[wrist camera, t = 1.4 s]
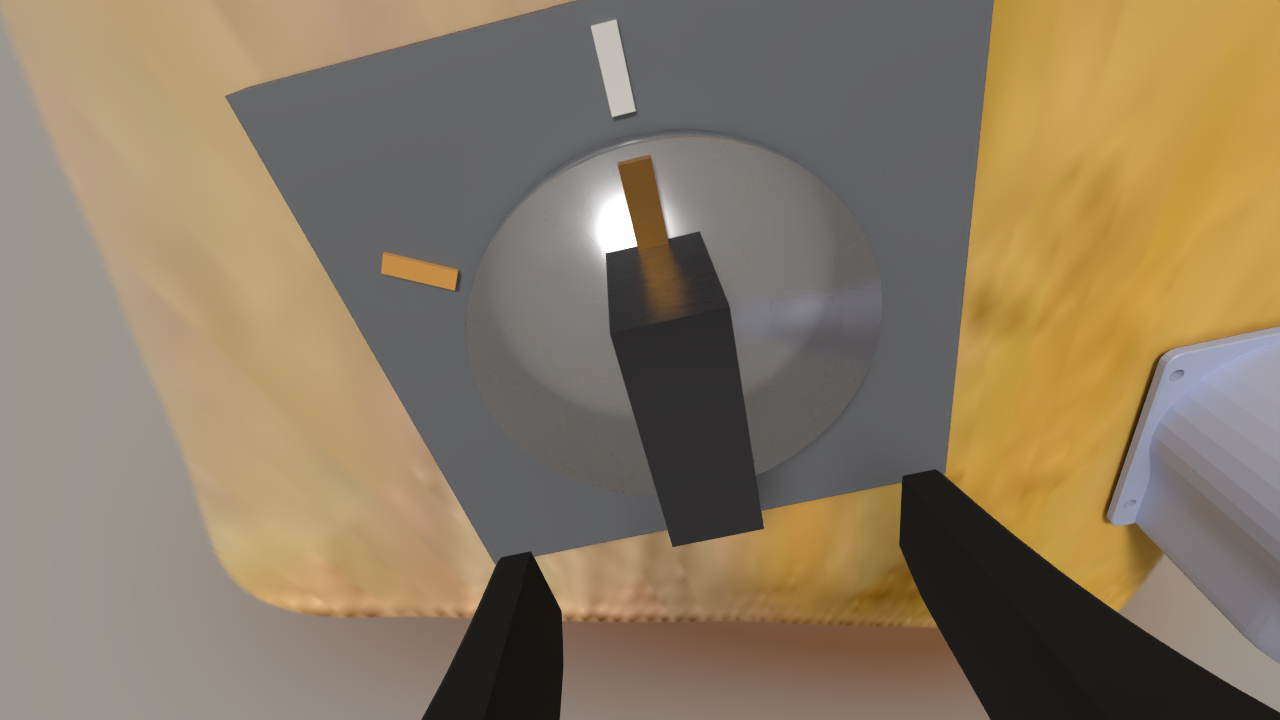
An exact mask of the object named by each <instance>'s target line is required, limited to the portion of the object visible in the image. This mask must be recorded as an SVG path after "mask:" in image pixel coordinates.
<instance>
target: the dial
mask: <svg viewBox="0 0 1280 720" xmlns="http://www.w3.org/2000/svg"><path fill="white" fill-rule="evenodd" d="M881 317H882V290H881V280H880V276H879V271H878V267H877V263H876V258H875V256H874V254H873V251H872V249H871V246H870V244H869V241H868V239H867V236H866V235H865V233H864V231H863V230H862V228H861V226H860V225H859V223H858V222H857V220H856V218H855V217H854V215H853V214H852V212H851V211H850V210H849V209H848V208H847V207H846V206H845V204H844V203H843V202H842V201H841V200H840V199H839V198H838V196H837V195H836V194H835V193H834V192H833V191H832V190H831V189H830V188H829V187H828V186H827V185H826V184H825V183H824V182H823V181H821V180H820V179H819V178H818V177H817V176H815V175H814V174H813V173H812V172H811V171H809V170H808V169H807V168H806V167H805V166H803V165H802V164H801V163H799V162H797V161H796V160H794V159H792V158H791V157H789V156H787V155H786V154H784V153H782V152H781V151H779V150H777V149H774V148H772V147H770V146H767V145H765V144H762V143H760V142H757V141H755V140H752V139H749V138H745V137H741V136H737V135H733V134H729V133H725V132H720V131H710V130H700V129H667V130H656V131H650V132H644V133H639V134H633V135H628V136H625V137H622V138H618V139H615V140H612V141H609V142H606V143H603V144H600V145H597V146H595V147H593V148H591V149H589V150H587V151H585V152H583V153H581V154H578V155H576V156H574V157H572V158H570V159H569V160H567V161H566V162H564V163H563V164H561V165H560V166H558V167H557V168H555V169H554V170H552V171H551V172H549V173H548V174H546V175H545V176H544V177H542V178H541V179H540V180H539V181H538V182H537V183H536V184H535V185H533V186H532V187H531V188H530V189H529V190H528V191H527V192H525V193H524V194H523V195H522V197H521V198H520V199H519V200H518V201H517V202H516V204H515V205H514V206H513V207H512V208H511V209H510V211H509V212H508V213H507V214H506V215H505V217H504V218H503V220H502V222H501V223H500V225H499V226H498V228H497V230H496V231H495V233H494V234H493V236H492V237H491V239H490V242H489V244H488V246H487V248H486V251H485V253H484V255H483V258H482V260H481V262H480V265H479V268H478V271H477V273H476V276H475V279H474V283H473V287H472V291H471V294H470V298H469V302H468V310H467V320H466V341H467V353H468V358H469V362H470V367H471V372H472V375H473V378H474V380H475V383H476V386H477V388H478V391H479V393H480V396H481V398H482V399H483V401H484V403H485V405H486V406H487V408H488V410H489V412H490V413H491V415H492V416H493V418H494V419H495V420H496V421H497V423H498V424H499V425H500V427H501V428H502V429H503V431H504V432H505V433H506V434H507V435H508V436H509V437H510V438H511V439H512V440H513V441H514V442H515V443H516V444H517V445H518V446H519V447H520V448H522V449H523V450H524V451H525V452H527V453H528V454H529V455H531V456H532V457H533V458H535V459H536V460H537V461H539V462H540V463H542V464H544V465H546V466H547V467H549V468H551V469H552V470H554V471H556V472H558V473H560V474H562V475H564V476H566V477H569V478H571V479H573V480H575V481H578V482H581V483H584V484H587V485H590V486H593V487H596V488H600V489H604V490H609V491H614V492H618V493H626V494H634V495H647V496H658V499H659V502H660V505H661V509H662V512H663V516H664V519H665V522H666V526H667V529H668V533H669V536H670V539H671V543H672V546H673V547H675V546H680V545H685V544H690V543H695V542H700V541H705V540H710V539H715V538H720V537H725V536H730V535H735V534H740V533H745V532H750V531H755V530H760V529H764V526H763V519H762V513H761V506H760V500H759V493H758V487H757V480H756V475H758V474H761V473H763V472H765V471H767V470H769V469H771V468H773V467H775V466H777V465H778V464H780V463H782V462H784V461H785V460H787V459H789V458H790V457H792V456H793V455H795V454H796V453H798V452H799V451H800V450H802V449H803V448H804V447H806V446H807V445H809V444H810V443H811V442H812V441H813V440H815V439H816V438H817V437H818V436H819V435H820V434H821V433H822V432H824V431H825V430H826V429H827V428H828V427H829V426H830V425H831V423H832V422H833V421H834V420H835V419H836V418H837V417H838V416H839V415H840V414H841V412H842V411H843V410H844V409H845V407H846V406H847V404H848V403H849V402H850V400H851V399H852V397H853V396H854V395H855V393H856V391H857V390H858V388H859V386H860V384H861V382H862V380H863V379H864V377H865V375H866V373H867V371H868V368H869V366H870V363H871V361H872V358H873V355H874V353H875V350H876V345H877V341H878V337H879V333H880V328H881Z"/></svg>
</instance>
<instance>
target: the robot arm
mask: <svg viewBox="0 0 1280 720" xmlns="http://www.w3.org/2000/svg"><path fill="white" fill-rule="evenodd" d="M1107 519H1108V520H1109V521H1110V522H1111V523H1112V524H1113V525H1115V526H1122V525H1127V524H1133V523H1136V524H1137V526H1138V527H1139V528H1140V529H1141V530H1142V531H1143V532H1144V533H1145V534H1146V535H1147V536H1148V537H1149V538H1150V539H1151V540H1152V541H1153V542H1154V543H1155V544H1156V545H1157V546H1158V547H1159V548H1160V549H1161V550H1162V551H1163V553H1164V554H1165V555H1166V556H1167V557H1168V558H1169V559H1170V560H1171V561H1172V562H1173V563H1174V564H1175V565H1176V566H1177V567H1178V568H1179V569H1180V570H1181V571H1182V572H1183V573H1184V574H1185V575H1186V576H1187V577H1188V578H1189V580H1190V581H1192V583H1193V584H1194V585H1195V586H1196V587H1197V588H1198V589H1199V590H1200V591H1201V592H1202V593H1203V594H1204V595H1205V596H1206V597H1207V598H1208V599H1209V600H1210V601H1211V602H1212V603H1213V604H1214V606H1215V607H1217V609H1218V610H1219V611H1220V612H1221V613H1222V614H1223V615H1224V616H1225V617H1226V618H1227V619H1228V620H1229V621H1230V622H1231V623H1232V624H1233V625H1234V626H1235V627H1236V628H1237V629H1238V630H1239V632H1240V633H1242V635H1243V636H1245V638H1247V639H1248V640H1249V641H1250V642H1251V643H1252V644H1253V645H1254V646H1255V647H1257V648H1258V649H1259V650H1261V651H1262V652H1263V653H1265V654H1266V655H1268V656H1269V657H1270V658H1271V659H1273V660H1274V661H1276V662H1278V663H1279V664H1280V326H1279V327H1274V328H1269V329H1265V330H1260V331H1255V332H1251V333H1246V334H1241V335H1236V336H1232V337H1227V338H1222V339H1217V340H1213V341H1208V342H1203V343H1198V344H1194V345H1189V346H1184V347H1179V348H1175V349H1172V350H1170V351H1168V352H1166V353H1165V354H1164V355H1163V356H1162V357H1161V358H1160V360H1159V363H1158V366H1157V368H1156V371H1155V374H1154V377H1153V380H1152V383H1151V386H1150V389H1149V392H1148V395H1147V398H1146V401H1145V404H1144V407H1143V410H1142V413H1141V416H1140V419H1139V421H1138V424H1137V427H1136V430H1135V433H1134V436H1133V439H1132V442H1131V445H1130V448H1129V451H1128V454H1127V457H1126V460H1125V463H1124V466H1123V469H1122V471H1121V474H1120V477H1119V480H1118V483H1117V486H1116V489H1115V492H1114V495H1113V498H1112V501H1111V504H1110V507H1109V510H1108V513H1107ZM899 545H900V548H901V550H902V553H903V555H904V557H905V560H906V562H907V565H908V567H909V569H910V572H911V574H912V576H913V579H914V581H915V583H916V586H917V588H918V590H919V592H920V595H921V597H922V599H923V601H924V602H925V604H926V606H927V608H928V610H929V612H930V613H931V615H932V617H933V619H934V620H935V622H936V624H937V626H938V628H939V629H940V631H941V633H942V635H943V636H944V638H945V640H946V642H947V643H948V645H949V647H950V649H951V651H952V652H953V654H954V656H955V657H956V659H957V661H958V663H959V665H960V666H961V668H962V670H963V672H964V673H965V675H966V677H967V679H968V681H969V682H970V684H971V685H972V687H973V689H974V691H975V692H976V694H977V696H978V698H979V700H980V702H981V703H982V705H983V707H984V709H985V710H986V712H987V714H988V716H989V718H990V719H991V720H1280V712H1278V711H1276V710H1274V709H1273V708H1271V707H1269V706H1267V705H1265V704H1263V703H1262V702H1260V701H1258V700H1257V699H1255V698H1253V697H1251V696H1249V695H1248V694H1246V693H1244V692H1242V691H1241V690H1239V689H1237V688H1235V687H1233V686H1232V685H1230V684H1229V683H1227V682H1225V681H1223V680H1222V679H1220V678H1219V677H1217V676H1215V675H1214V674H1212V673H1210V672H1209V671H1207V670H1205V669H1204V668H1202V667H1201V666H1199V665H1197V664H1195V663H1194V662H1193V661H1191V660H1189V659H1188V658H1186V657H1184V656H1183V655H1181V654H1180V653H1178V652H1177V651H1175V650H1173V649H1172V648H1170V647H1169V646H1167V645H1166V644H1164V643H1163V642H1161V641H1159V640H1158V639H1156V638H1155V637H1153V636H1152V635H1150V634H1149V633H1147V632H1145V631H1144V630H1142V629H1141V628H1140V627H1138V626H1137V625H1135V624H1134V623H1132V622H1131V621H1129V620H1128V619H1126V618H1125V617H1123V616H1122V615H1120V614H1119V613H1118V612H1116V611H1115V610H1113V609H1112V608H1110V607H1109V606H1107V605H1106V604H1105V603H1103V602H1102V601H1101V600H1099V599H1098V598H1096V597H1095V596H1094V595H1092V594H1091V593H1089V592H1088V591H1087V590H1085V589H1084V588H1082V587H1081V586H1080V585H1078V584H1077V583H1076V582H1074V581H1073V580H1072V579H1070V578H1069V577H1068V576H1066V575H1065V574H1064V573H1062V572H1061V571H1060V570H1058V569H1057V568H1056V567H1054V566H1053V565H1052V564H1050V563H1049V562H1048V561H1047V560H1045V559H1044V558H1043V557H1041V556H1040V555H1039V554H1038V553H1036V552H1035V551H1034V550H1033V549H1031V548H1030V547H1029V546H1027V545H1026V544H1025V543H1024V542H1022V541H1021V540H1020V539H1019V538H1017V537H1016V536H1015V535H1014V534H1012V533H1011V532H1010V531H1009V530H1007V529H1006V528H1005V527H1004V526H1003V525H1001V524H1000V523H999V522H998V521H997V520H995V519H994V518H993V517H992V516H991V515H989V514H988V513H987V512H986V511H985V510H983V509H982V508H981V507H980V506H979V505H978V504H976V503H975V502H974V501H973V500H972V499H971V498H969V497H968V496H967V495H966V494H965V493H964V492H963V491H961V490H960V489H959V488H958V487H957V486H956V485H955V484H953V483H952V482H951V481H950V480H949V479H948V478H947V477H945V476H944V475H943V474H942V473H941V472H939V471H938V470H936V469H934V470H929V471H924V472H919V473H914V474H909V475H904V476H903V477H902V498H901V520H900V542H899ZM562 679H563V636H562V613H561V609H560V607H559V605H558V603H557V601H556V599H555V597H554V596H553V594H552V592H551V590H550V588H549V586H548V584H547V582H546V580H545V578H544V576H543V574H542V572H541V570H540V568H539V566H538V564H537V562H536V560H535V558H534V556H533V554H532V552H531V551H529V552H524V553H520V554H515V555H510V556H505V557H501V558H500V559H499V561H498V562H497V564H496V567H495V569H494V571H493V574H492V576H491V578H490V581H489V583H488V585H487V587H486V590H485V592H484V594H483V597H482V599H481V601H480V603H479V606H478V608H477V610H476V612H475V614H474V617H473V619H472V621H471V623H470V626H469V628H468V630H467V632H466V634H465V636H464V638H463V640H462V642H461V644H460V647H459V648H458V650H457V652H456V655H455V657H454V659H453V661H452V663H451V665H450V667H449V669H448V671H447V673H446V675H445V677H444V679H443V681H442V683H441V685H440V686H439V688H438V690H437V692H436V694H435V696H434V698H433V699H432V701H431V703H430V705H429V707H428V709H427V711H426V713H425V714H424V716H423V718H422V720H559V719H560V707H561V693H562Z"/></svg>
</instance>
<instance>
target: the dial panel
mask: <svg viewBox="0 0 1280 720" xmlns="http://www.w3.org/2000/svg"><path fill="white" fill-rule="evenodd" d="M993 3H994V0H576V1H572V2H568V3H565V4H561V5H557V6H553V7H550V8H546V9H542V10H538V11H534V12H531V13H527V14H523V15H519V16H515V17H512V18H508V19H504V20H500V21H497V22H493V23H489V24H485V25H481V26H478V27H474V28H470V29H466V30H463V31H459V32H455V33H451V34H447V35H444V36H440V37H436V38H432V39H428V40H425V41H421V42H417V43H413V44H410V45H406V46H402V47H398V48H394V49H391V50H387V51H383V52H379V53H375V54H372V55H368V56H364V57H360V58H357V59H353V60H349V61H345V62H341V63H338V64H334V65H330V66H326V67H323V68H319V69H315V70H311V71H307V72H304V73H300V74H296V75H292V76H288V77H285V78H281V79H277V80H273V81H270V82H266V83H262V84H258V85H254V86H251V87H248V88H245V89H242V90H240V91H237V92H234V93H232V94H229V95H227V96H225V97H226V99H227V101H228V102H229V104H230V106H231V107H232V109H233V111H234V113H235V114H236V116H237V118H238V120H239V121H240V123H241V125H242V127H243V128H244V130H245V132H246V133H247V135H248V137H249V139H250V140H251V142H252V144H253V146H254V147H255V149H256V151H257V153H258V154H259V156H260V158H261V159H262V161H263V163H264V165H265V166H266V168H267V170H268V172H269V173H270V175H271V177H272V179H273V180H274V182H275V184H276V185H277V187H278V189H279V191H280V192H281V194H282V196H283V198H284V199H285V201H286V203H287V205H288V206H289V208H290V210H291V211H292V213H293V215H294V217H295V218H296V220H297V222H298V224H299V225H300V227H301V229H302V231H303V232H304V234H305V236H306V237H307V239H308V241H309V243H310V244H311V246H312V248H313V250H314V251H315V253H316V255H317V257H318V258H319V260H320V262H321V264H322V265H323V267H324V269H325V270H326V272H327V274H328V276H329V277H330V279H331V281H332V283H333V284H334V286H335V288H336V290H337V291H338V293H339V295H340V296H341V298H342V300H343V302H344V303H345V305H346V307H347V309H348V310H349V312H350V314H351V316H352V317H353V319H354V321H355V322H356V324H357V326H358V328H359V329H360V331H361V333H362V335H363V336H364V338H365V340H366V342H367V343H368V345H369V347H370V348H371V350H372V352H373V354H374V355H375V357H376V359H377V361H378V362H379V364H380V366H381V368H382V369H383V371H384V373H385V374H386V376H387V378H388V380H389V381H390V383H391V385H392V387H393V388H394V390H395V392H396V394H397V395H398V397H399V399H400V400H401V402H402V404H403V406H404V407H405V409H406V411H407V413H408V414H409V416H410V418H411V420H412V421H413V423H414V425H415V426H416V428H417V430H418V432H419V433H420V435H421V437H422V439H423V440H424V442H425V444H426V446H427V447H428V449H429V451H430V452H431V454H432V456H433V458H434V459H435V461H436V463H437V465H438V466H439V468H440V470H441V472H442V473H443V475H444V477H445V479H446V480H447V482H448V484H449V485H450V487H451V489H452V491H453V492H454V494H455V496H456V498H457V499H458V501H459V503H460V505H461V506H462V508H463V510H464V511H465V513H466V515H467V517H468V518H469V520H470V522H471V524H472V525H473V527H474V529H475V531H476V532H477V534H478V536H479V537H480V539H481V541H482V543H483V544H484V546H485V548H486V550H487V551H488V553H489V555H490V557H491V558H492V560H493V562H494V563H495V564H497V562H498V561H499V559H500V558H501V557H505V556H510V555H515V554H520V553H524V552H529V551H531V552H532V554H533V556H539V555H544V554H549V553H554V552H559V551H564V550H569V549H574V548H579V547H584V546H589V545H594V544H599V543H604V542H608V541H613V540H618V539H623V538H628V537H633V536H638V535H643V534H648V533H653V532H658V531H663V530H668V529H667V526H666V522H665V519H664V516H663V512H662V509H661V505H660V502H659V499H658V496H647V495H634V494H626V493H618V492H614V491H609V490H604V489H600V488H596V487H593V486H590V485H587V484H584V483H581V482H578V481H575V480H573V479H571V478H569V477H566V476H564V475H562V474H560V473H558V472H556V471H554V470H552V469H551V468H549V467H547V466H546V465H544V464H542V463H540V462H539V461H537V460H536V459H535V458H533V457H532V456H531V455H529V454H528V453H527V452H525V451H524V450H523V449H522V448H520V447H519V446H518V445H517V444H516V443H515V442H514V441H513V440H512V439H511V438H510V437H509V436H508V435H507V434H506V433H505V432H504V431H503V429H502V428H501V427H500V425H499V424H498V423H497V421H496V420H495V419H494V418H493V416H492V415H491V413H490V412H489V410H488V408H487V406H486V405H485V403H484V401H483V399H482V398H481V396H480V393H479V391H478V388H477V386H476V383H475V380H474V378H473V375H472V372H471V367H470V362H469V358H468V353H467V341H466V320H467V310H468V302H469V298H470V294H471V291H472V287H473V283H474V279H475V276H476V273H477V271H478V268H479V265H480V262H481V260H482V258H483V255H484V253H485V251H486V248H487V246H488V244H489V242H490V239H491V237H492V236H493V234H494V233H495V231H496V230H497V228H498V226H499V225H500V223H501V222H502V220H503V218H504V217H505V215H506V214H507V213H508V212H509V211H510V209H511V208H512V207H513V206H514V205H515V204H516V202H517V201H518V200H519V199H520V198H521V197H522V195H523V194H524V193H525V192H527V191H528V190H529V189H530V188H531V187H532V186H533V185H535V184H536V183H537V182H538V181H539V180H540V179H541V178H542V177H544V176H545V175H546V174H548V173H549V172H551V171H552V170H554V169H555V168H557V167H558V166H560V165H561V164H563V163H564V162H566V161H567V160H569V159H570V158H572V157H574V156H576V155H578V154H581V153H583V152H585V151H587V150H589V149H591V148H593V147H595V146H597V145H600V144H603V143H606V142H609V141H612V140H615V139H618V138H622V137H625V136H628V135H633V134H639V133H644V132H650V131H656V130H667V129H700V130H710V131H720V132H725V133H729V134H733V135H737V136H741V137H745V138H749V139H752V140H755V141H757V142H760V143H762V144H765V145H767V146H770V147H772V148H774V149H777V150H779V151H781V152H782V153H784V154H786V155H787V156H789V157H791V158H792V159H794V160H796V161H797V162H799V163H801V164H802V165H803V166H805V167H806V168H807V169H808V170H809V171H811V172H812V173H813V174H814V175H815V176H817V177H818V178H819V179H820V180H821V181H823V182H824V183H825V184H826V185H827V186H828V187H829V188H830V189H831V190H832V191H833V192H834V193H835V194H836V195H837V196H838V198H839V199H840V200H841V201H842V202H843V203H844V204H845V206H846V207H847V208H848V209H849V210H850V211H851V212H852V214H853V215H854V217H855V218H856V220H857V222H858V223H859V225H860V226H861V228H862V230H863V231H864V233H865V235H866V236H867V239H868V241H869V244H870V246H871V249H872V251H873V254H874V256H875V258H876V263H877V267H878V271H879V276H880V280H881V290H882V317H881V328H880V333H879V337H878V341H877V345H876V350H875V353H874V355H873V358H872V361H871V363H870V366H869V368H868V371H867V373H866V375H865V377H864V379H863V380H862V382H861V384H860V386H859V388H858V390H857V391H856V393H855V395H854V396H853V397H852V399H851V400H850V402H849V403H848V404H847V406H846V407H845V409H844V410H843V411H842V412H841V414H840V415H839V416H838V417H837V418H836V419H835V420H834V421H833V422H832V423H831V425H830V426H829V427H828V428H827V429H826V430H825V431H824V432H822V433H821V434H820V435H819V436H818V437H817V438H816V439H815V440H813V441H812V442H811V443H810V444H809V445H807V446H806V447H804V448H803V449H802V450H800V451H799V452H798V453H796V454H795V455H793V456H792V457H790V458H789V459H787V460H785V461H784V462H782V463H780V464H778V465H777V466H775V467H773V468H771V469H769V470H767V471H765V472H763V473H761V474H758V475H756V480H757V487H758V493H759V500H760V506H761V511H762V510H767V509H771V508H776V507H781V506H786V505H791V504H796V503H801V502H806V501H811V500H816V499H821V498H826V497H831V496H836V495H841V494H846V493H851V492H855V491H860V490H865V489H870V488H875V487H880V486H885V485H890V484H895V483H900V482H902V477H903V476H904V475H909V474H914V473H919V472H924V471H929V470H934V469H936V470H938V471H939V472H941V473H942V474H944V473H945V471H946V461H947V452H948V442H949V432H950V422H951V413H952V403H953V393H954V383H955V374H956V364H957V354H958V344H959V335H960V325H961V315H962V305H963V296H964V286H965V276H966V266H967V257H968V247H969V237H970V227H971V218H972V208H973V198H974V188H975V179H976V169H977V159H978V149H979V140H980V130H981V120H982V110H983V100H984V91H985V81H986V71H987V61H988V52H989V42H990V32H991V22H992V13H993Z"/></svg>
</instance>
